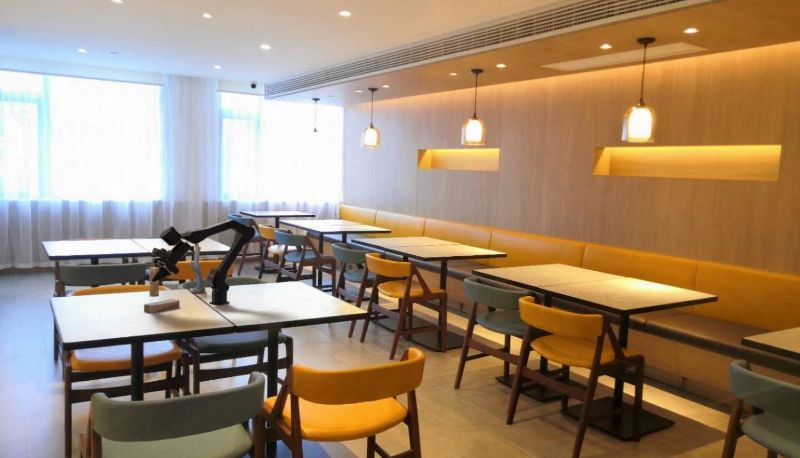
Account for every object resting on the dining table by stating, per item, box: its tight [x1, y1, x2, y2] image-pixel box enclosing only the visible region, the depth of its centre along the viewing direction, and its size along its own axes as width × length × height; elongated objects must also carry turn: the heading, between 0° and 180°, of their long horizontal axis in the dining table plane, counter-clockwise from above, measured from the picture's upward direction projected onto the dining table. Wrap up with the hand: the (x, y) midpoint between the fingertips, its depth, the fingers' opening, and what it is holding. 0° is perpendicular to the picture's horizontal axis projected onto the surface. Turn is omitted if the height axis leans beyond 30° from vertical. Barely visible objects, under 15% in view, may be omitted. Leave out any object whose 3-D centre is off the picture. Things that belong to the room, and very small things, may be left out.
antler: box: [189, 243, 207, 294], centre depth 286 cm, size 12×8×25 cm
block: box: [143, 298, 180, 314], centre depth 247 cm, size 5×14×3 cm, turn 151°
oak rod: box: [148, 266, 160, 298], centre depth 243 cm, size 4×4×12 cm
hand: (150, 280), depth 242 cm, fingers closed on oak rod, 4 cm apart
